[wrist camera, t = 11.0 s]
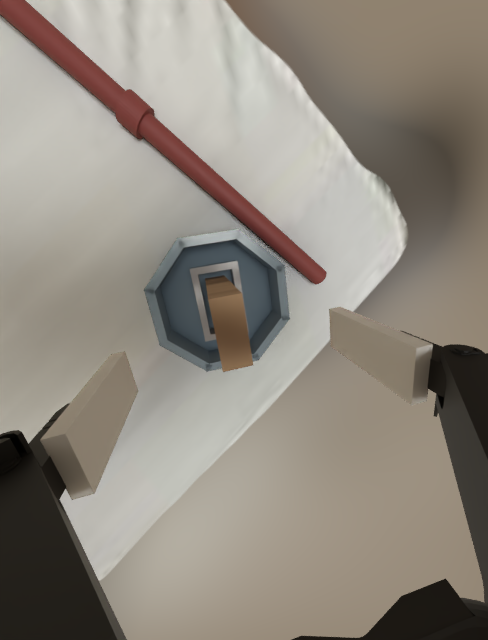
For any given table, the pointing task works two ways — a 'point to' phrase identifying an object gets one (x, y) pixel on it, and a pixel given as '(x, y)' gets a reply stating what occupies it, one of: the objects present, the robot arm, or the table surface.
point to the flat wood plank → (229, 323)
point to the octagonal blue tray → (192, 300)
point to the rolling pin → (152, 130)
